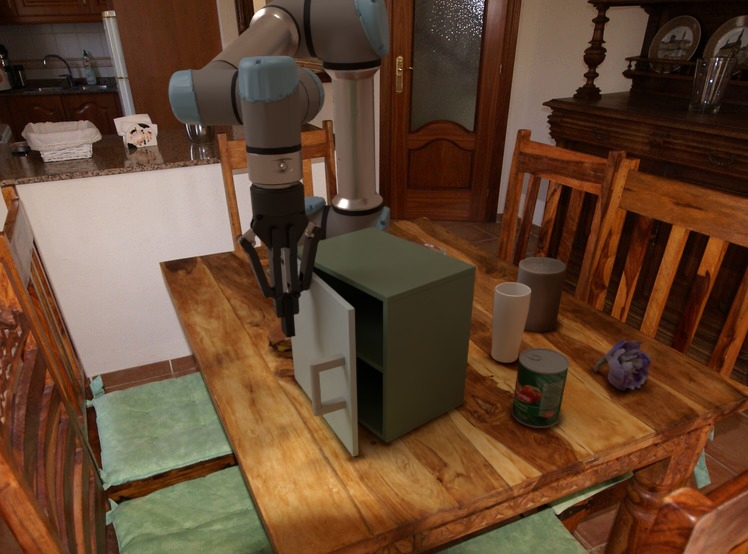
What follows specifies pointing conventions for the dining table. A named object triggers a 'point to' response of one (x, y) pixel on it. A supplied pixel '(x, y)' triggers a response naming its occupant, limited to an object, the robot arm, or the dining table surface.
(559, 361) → the canned tomato
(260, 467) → the dining table surface
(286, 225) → the robot arm
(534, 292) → the pillar candle
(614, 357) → the flower
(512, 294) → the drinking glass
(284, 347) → the burger
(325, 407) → the door
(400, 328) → the cupboard
